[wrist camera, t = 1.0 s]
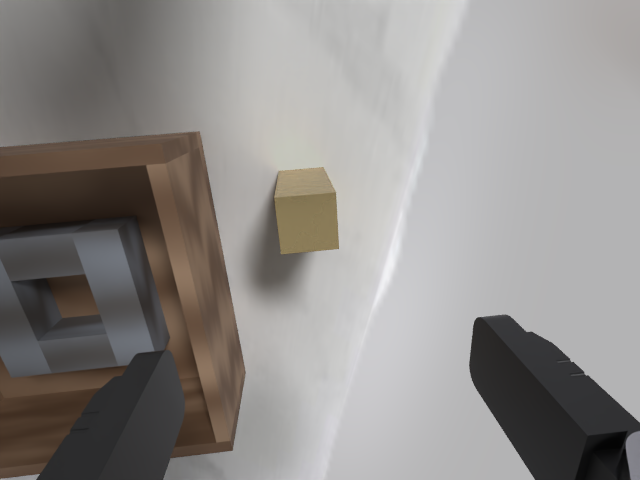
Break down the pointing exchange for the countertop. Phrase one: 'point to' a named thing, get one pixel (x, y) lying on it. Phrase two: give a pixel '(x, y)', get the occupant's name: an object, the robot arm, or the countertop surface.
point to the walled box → (110, 288)
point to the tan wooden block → (306, 211)
